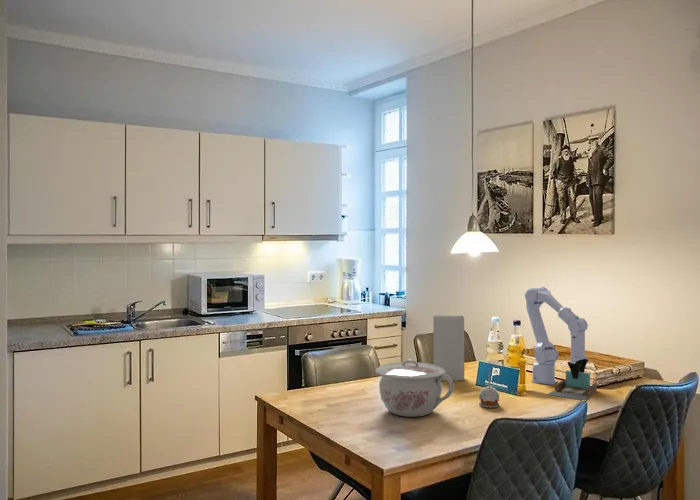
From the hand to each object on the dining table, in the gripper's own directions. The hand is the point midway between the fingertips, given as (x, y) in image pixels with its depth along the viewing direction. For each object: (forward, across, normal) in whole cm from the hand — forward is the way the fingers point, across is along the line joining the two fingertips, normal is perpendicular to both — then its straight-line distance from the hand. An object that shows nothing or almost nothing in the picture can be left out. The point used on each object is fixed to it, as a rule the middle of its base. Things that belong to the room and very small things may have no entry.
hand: (578, 376), depth 275 cm
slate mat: (+6, -12, 0) cm, 14 cm away
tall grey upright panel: (+6, -14, +56) cm, 58 cm away
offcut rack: (+6, -2, 0) cm, 6 cm away
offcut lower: (+7, -5, 0) cm, 8 cm away
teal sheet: (+6, 0, 0) cm, 6 cm away
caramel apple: (+6, -46, +21) cm, 51 cm away
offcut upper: (+6, -5, 0) cm, 8 cm away
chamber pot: (+6, -72, +42) cm, 83 cm away
